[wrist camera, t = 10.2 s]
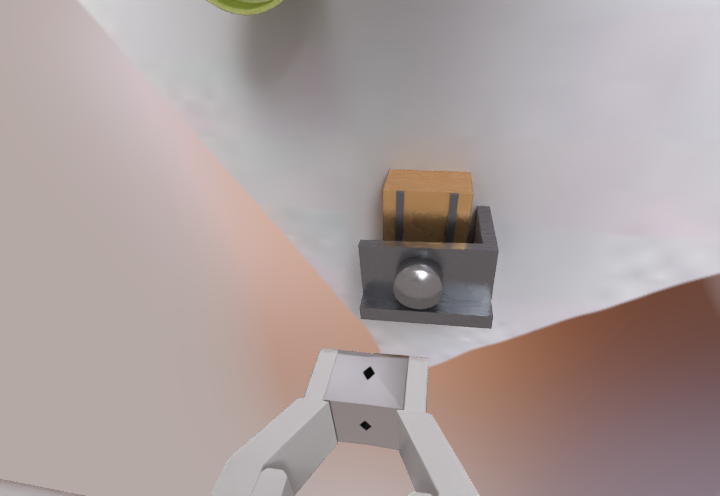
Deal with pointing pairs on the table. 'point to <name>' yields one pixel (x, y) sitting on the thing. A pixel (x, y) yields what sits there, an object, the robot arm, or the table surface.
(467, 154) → the table surface
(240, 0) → the plant pot
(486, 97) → the table surface
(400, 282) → the bracket
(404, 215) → the block
